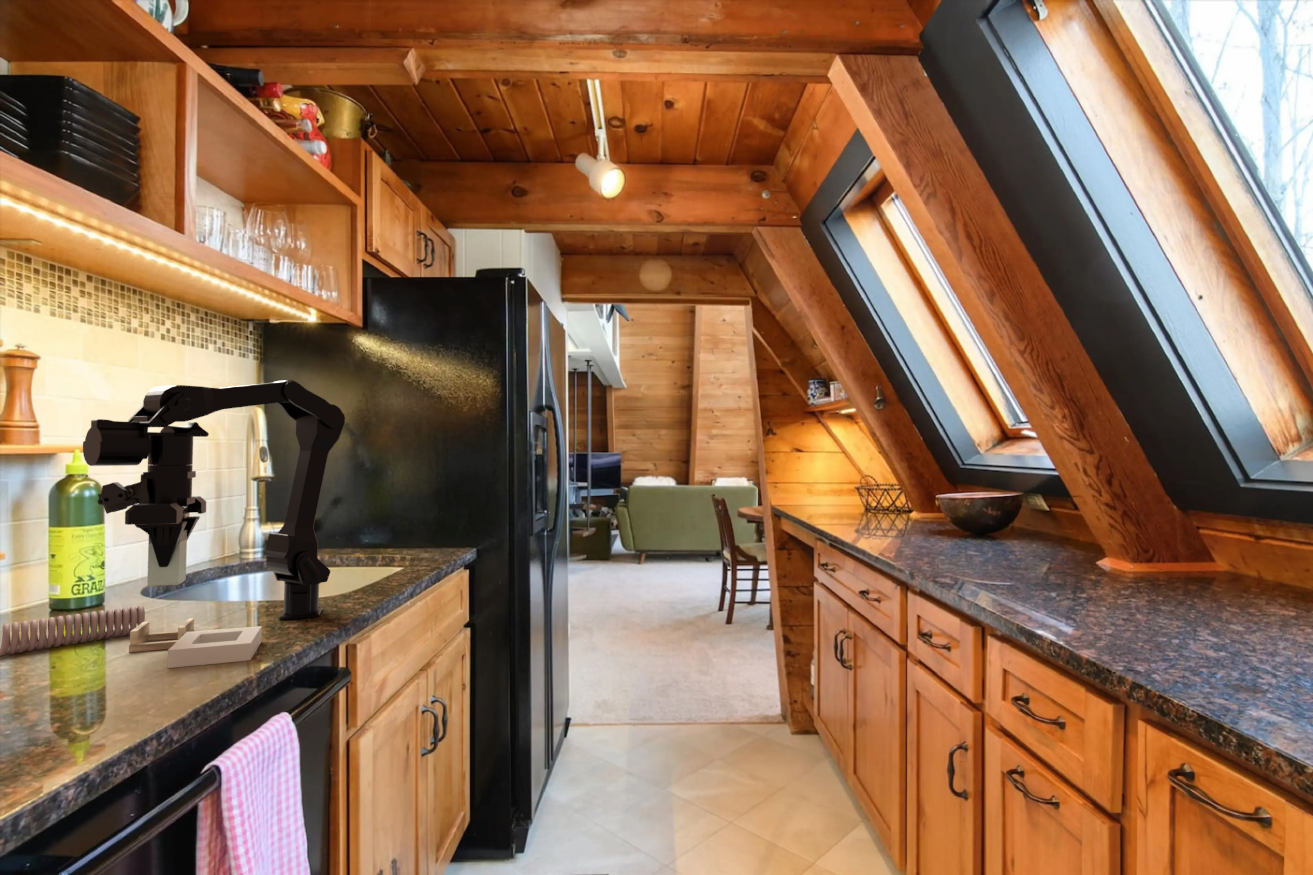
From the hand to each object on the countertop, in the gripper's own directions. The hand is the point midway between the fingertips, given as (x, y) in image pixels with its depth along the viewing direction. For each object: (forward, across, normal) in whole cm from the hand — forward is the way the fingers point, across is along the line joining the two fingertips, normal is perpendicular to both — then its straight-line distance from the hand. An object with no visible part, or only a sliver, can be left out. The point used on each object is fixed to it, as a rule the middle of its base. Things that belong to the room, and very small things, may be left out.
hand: (167, 564), depth 104 cm
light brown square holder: (+12, 0, 0) cm, 12 cm away
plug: (+3, 0, 0) cm, 3 cm away
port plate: (+12, +8, +9) cm, 17 cm away
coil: (+13, -6, -13) cm, 19 cm away
